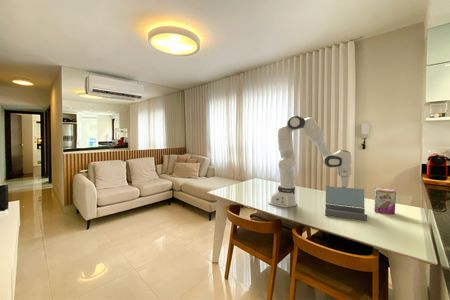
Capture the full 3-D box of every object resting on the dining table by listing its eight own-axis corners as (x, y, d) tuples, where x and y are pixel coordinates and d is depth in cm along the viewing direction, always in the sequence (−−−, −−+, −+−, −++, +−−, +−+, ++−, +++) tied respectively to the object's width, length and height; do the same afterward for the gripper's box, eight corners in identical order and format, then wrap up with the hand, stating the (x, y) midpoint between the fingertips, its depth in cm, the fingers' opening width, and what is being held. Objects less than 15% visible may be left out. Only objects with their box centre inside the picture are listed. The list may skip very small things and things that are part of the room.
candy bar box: (374, 212, 143) (375, 189, 141) (374, 209, 147) (374, 187, 146) (395, 215, 137) (396, 191, 136) (393, 212, 141) (394, 189, 140)
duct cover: (325, 186, 152) (325, 186, 153) (325, 203, 150) (325, 203, 151) (364, 189, 141) (364, 189, 141) (364, 208, 139) (364, 208, 140)
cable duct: (325, 215, 140) (325, 209, 139) (325, 209, 150) (325, 203, 150) (367, 221, 129) (367, 215, 128) (364, 214, 139) (364, 208, 139)
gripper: (338, 169, 160) (338, 186, 161) (339, 174, 142) (339, 193, 143) (347, 169, 157) (347, 186, 158) (350, 174, 139) (349, 194, 140)
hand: (343, 190), depth 150 cm, fingers closed
